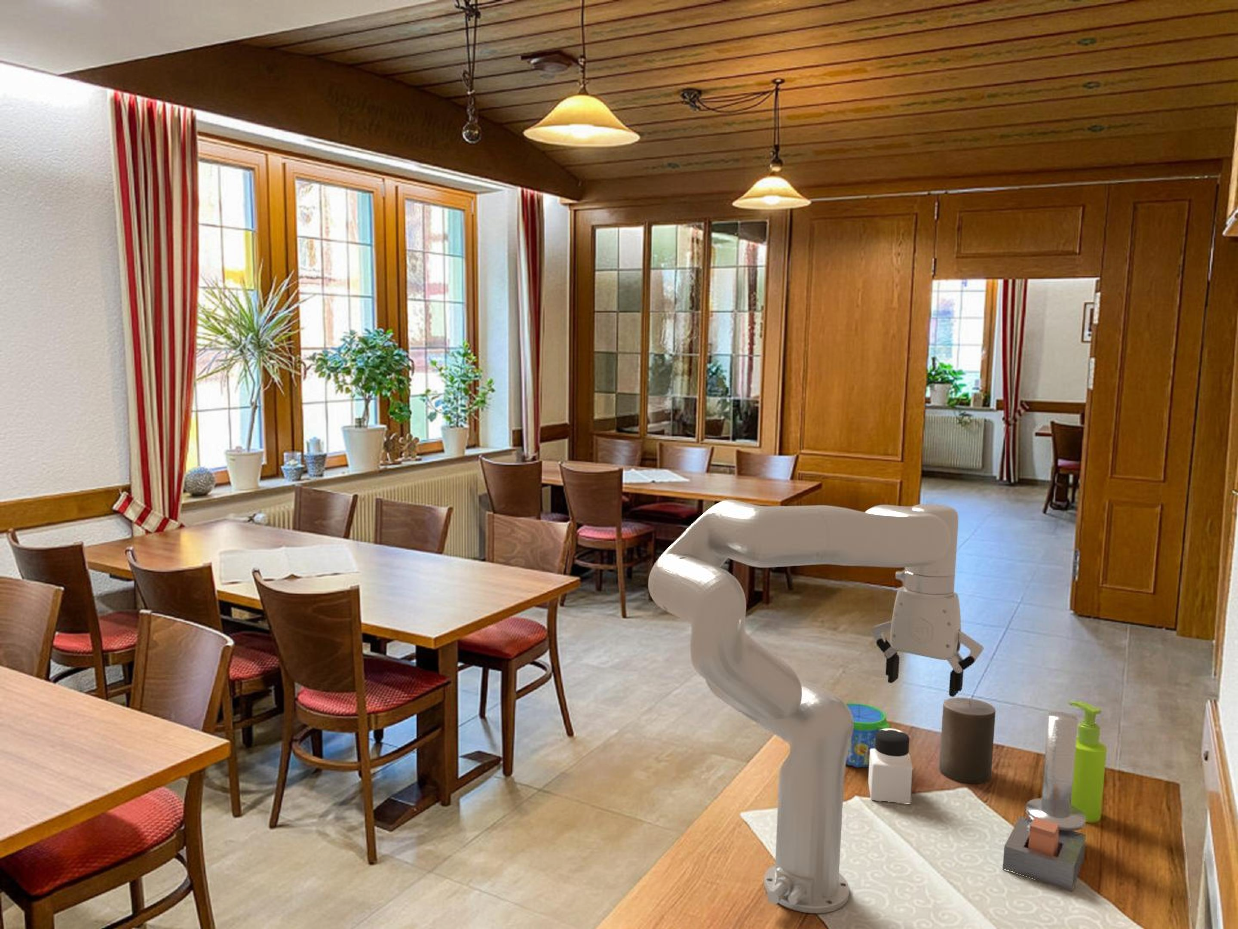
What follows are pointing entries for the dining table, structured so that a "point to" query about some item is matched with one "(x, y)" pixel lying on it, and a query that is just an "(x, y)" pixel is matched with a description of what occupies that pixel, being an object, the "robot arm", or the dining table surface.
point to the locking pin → (1043, 836)
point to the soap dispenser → (1088, 765)
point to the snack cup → (864, 732)
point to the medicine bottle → (890, 767)
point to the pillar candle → (967, 740)
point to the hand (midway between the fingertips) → (922, 687)
